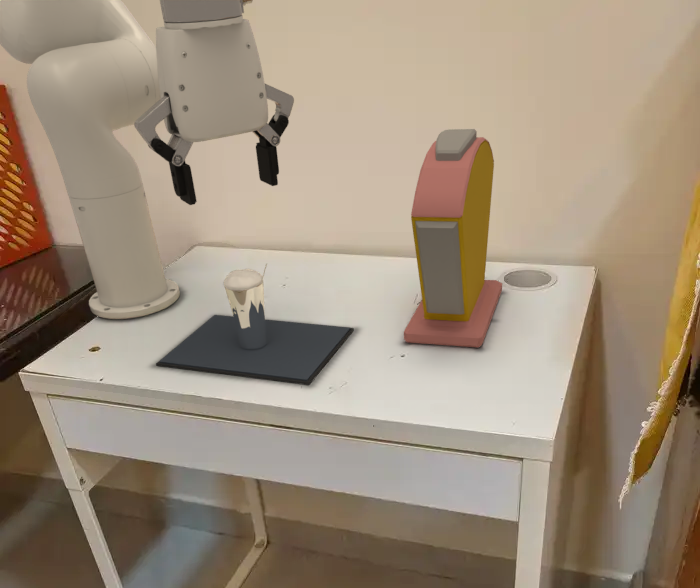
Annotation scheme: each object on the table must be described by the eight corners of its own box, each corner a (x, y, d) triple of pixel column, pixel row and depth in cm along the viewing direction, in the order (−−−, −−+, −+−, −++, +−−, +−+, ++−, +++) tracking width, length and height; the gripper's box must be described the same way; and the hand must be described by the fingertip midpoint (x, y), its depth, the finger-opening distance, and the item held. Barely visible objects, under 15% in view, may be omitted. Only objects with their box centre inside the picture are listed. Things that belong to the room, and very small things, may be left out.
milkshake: (273, 353, 85) (260, 271, 79) (230, 352, 86) (214, 271, 80) (283, 336, 89) (272, 256, 83) (242, 335, 90) (228, 257, 84)
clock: (437, 281, 100) (436, 112, 88) (505, 284, 97) (513, 109, 85) (397, 354, 83) (388, 157, 71) (477, 360, 81) (483, 157, 68)
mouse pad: (156, 365, 86) (155, 362, 86) (214, 317, 96) (213, 313, 96) (308, 385, 79) (308, 381, 79) (354, 330, 90) (353, 326, 89)
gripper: (264, -4, 74) (283, 170, 85) (100, 15, 67) (142, 201, 78) (300, -1, 69) (315, 183, 79) (125, 19, 62) (167, 218, 72)
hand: (229, 192), depth 78 cm, fingers open, 9 cm apart
